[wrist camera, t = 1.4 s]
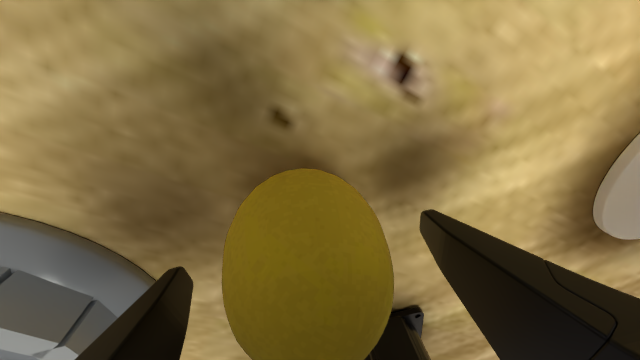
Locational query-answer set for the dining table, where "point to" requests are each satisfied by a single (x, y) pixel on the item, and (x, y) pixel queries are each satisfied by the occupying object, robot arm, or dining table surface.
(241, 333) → the lemon
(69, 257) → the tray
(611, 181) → the decorative vase
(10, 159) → the dining table surface
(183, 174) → the dining table surface
